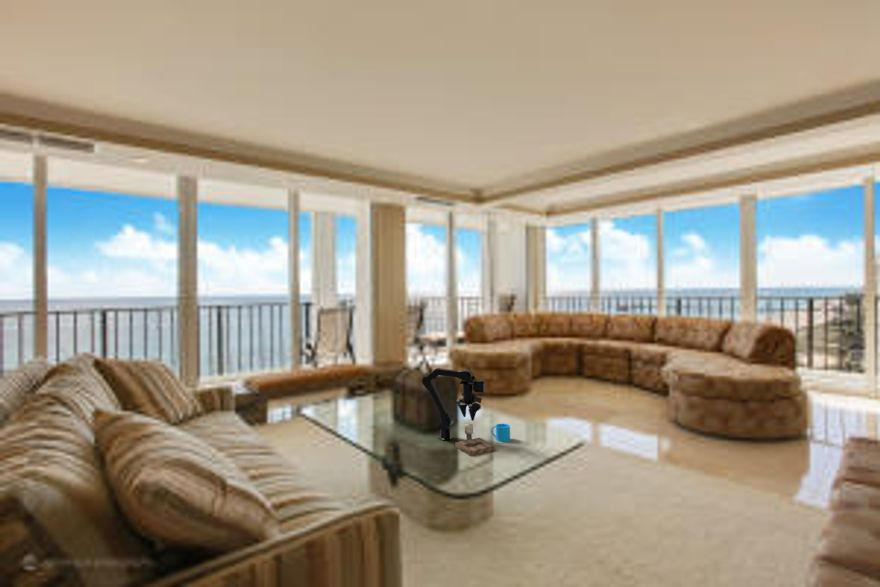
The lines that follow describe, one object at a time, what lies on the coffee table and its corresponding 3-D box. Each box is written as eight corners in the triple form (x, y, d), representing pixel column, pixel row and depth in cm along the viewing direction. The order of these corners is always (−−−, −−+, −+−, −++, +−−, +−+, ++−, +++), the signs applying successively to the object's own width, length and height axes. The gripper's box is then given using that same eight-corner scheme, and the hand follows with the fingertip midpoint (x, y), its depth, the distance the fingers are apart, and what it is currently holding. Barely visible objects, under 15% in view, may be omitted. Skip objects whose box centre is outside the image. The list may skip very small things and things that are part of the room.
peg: (463, 440, 242) (463, 424, 243) (470, 438, 245) (470, 423, 245) (467, 442, 238) (467, 426, 238) (474, 441, 240) (474, 425, 241)
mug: (512, 438, 243) (512, 424, 243) (506, 442, 236) (505, 428, 236) (494, 435, 250) (494, 421, 250) (487, 439, 243) (487, 425, 243)
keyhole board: (470, 456, 217) (470, 451, 217) (455, 447, 232) (455, 442, 232) (495, 450, 225) (495, 445, 225) (479, 442, 239) (479, 437, 239)
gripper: (488, 393, 237) (489, 420, 237) (471, 387, 254) (472, 413, 254) (471, 395, 232) (472, 423, 232) (455, 389, 249) (456, 415, 249)
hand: (468, 418), depth 242 cm, fingers open, 9 cm apart
